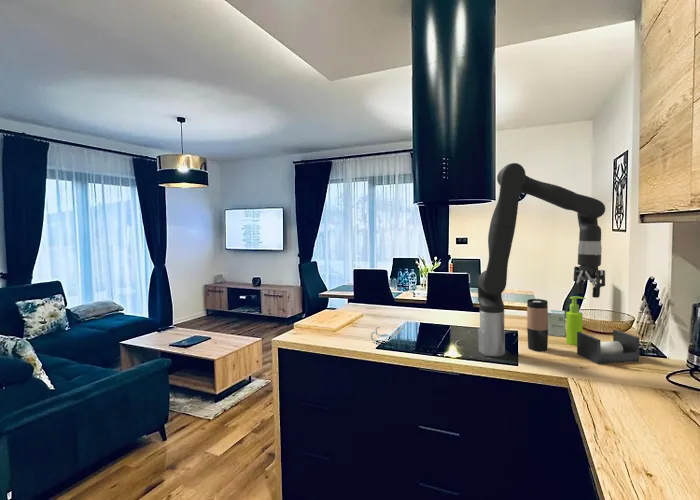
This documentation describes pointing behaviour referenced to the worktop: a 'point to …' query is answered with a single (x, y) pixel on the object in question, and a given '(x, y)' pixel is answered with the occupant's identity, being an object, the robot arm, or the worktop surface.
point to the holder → (591, 351)
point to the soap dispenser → (573, 321)
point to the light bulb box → (556, 323)
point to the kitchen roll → (611, 347)
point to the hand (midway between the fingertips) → (588, 295)
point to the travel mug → (537, 324)
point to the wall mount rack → (384, 336)
